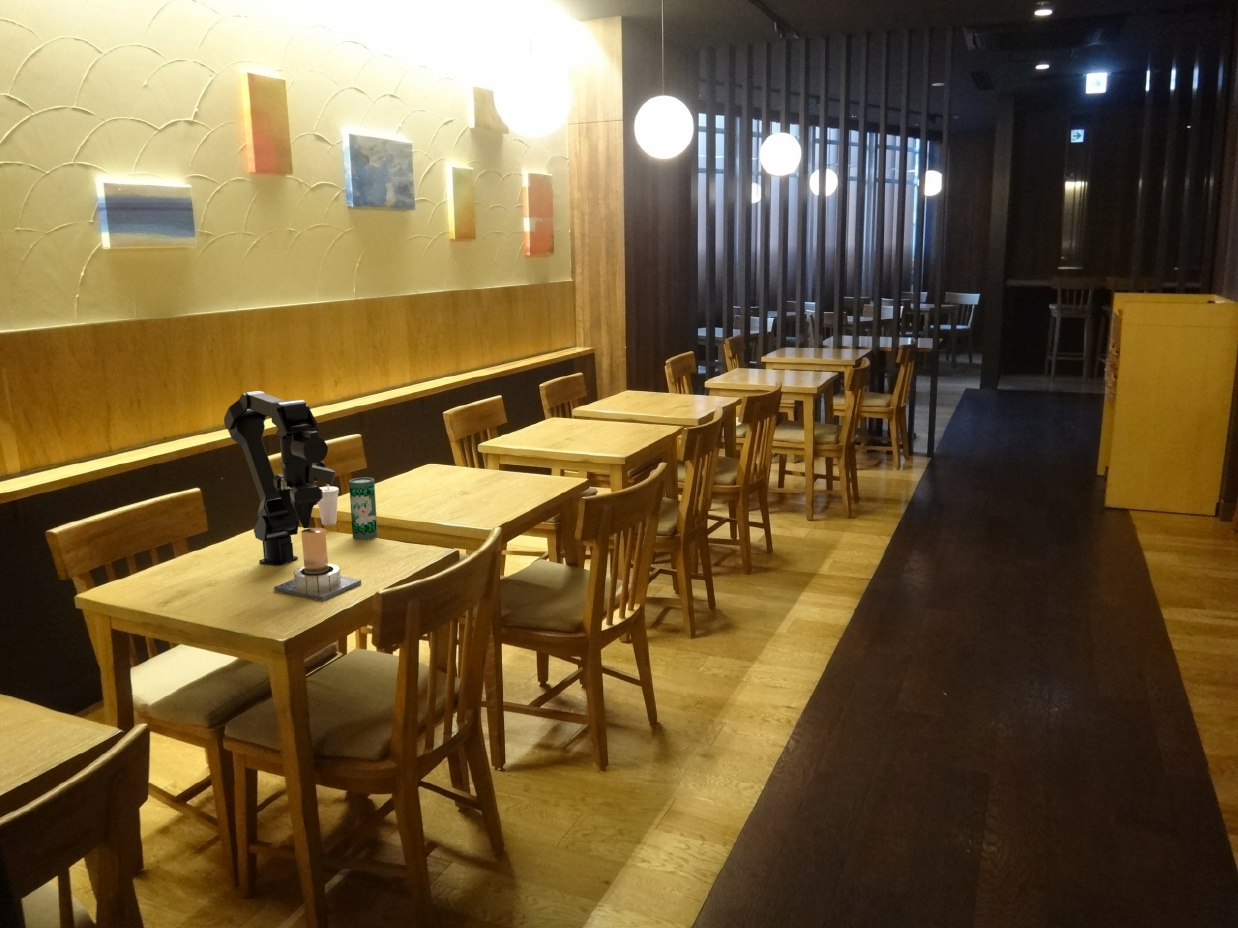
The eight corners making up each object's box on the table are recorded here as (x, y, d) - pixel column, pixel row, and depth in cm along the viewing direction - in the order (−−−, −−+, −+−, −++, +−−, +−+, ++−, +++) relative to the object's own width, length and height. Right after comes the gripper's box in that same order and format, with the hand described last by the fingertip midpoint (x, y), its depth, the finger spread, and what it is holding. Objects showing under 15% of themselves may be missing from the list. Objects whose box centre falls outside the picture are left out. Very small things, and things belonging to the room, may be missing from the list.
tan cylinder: (301, 586, 213) (296, 534, 211) (311, 579, 219) (306, 527, 216) (324, 587, 213) (320, 534, 210) (333, 579, 218) (329, 527, 216)
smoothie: (334, 527, 262) (330, 476, 259) (312, 526, 263) (308, 475, 260) (345, 520, 268) (342, 471, 265) (324, 519, 269) (320, 470, 266)
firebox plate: (274, 591, 214) (272, 573, 213) (313, 575, 224) (312, 558, 223) (322, 601, 208) (321, 583, 207) (361, 583, 218) (360, 566, 217)
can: (351, 540, 251) (348, 483, 247) (354, 533, 256) (350, 478, 253) (376, 539, 251) (372, 482, 248) (378, 532, 257) (374, 477, 254)
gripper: (343, 459, 216) (348, 527, 220) (318, 445, 231) (323, 509, 235) (292, 465, 210) (297, 535, 214) (270, 451, 226) (275, 516, 229)
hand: (300, 523), depth 223 cm, fingers open, 9 cm apart
